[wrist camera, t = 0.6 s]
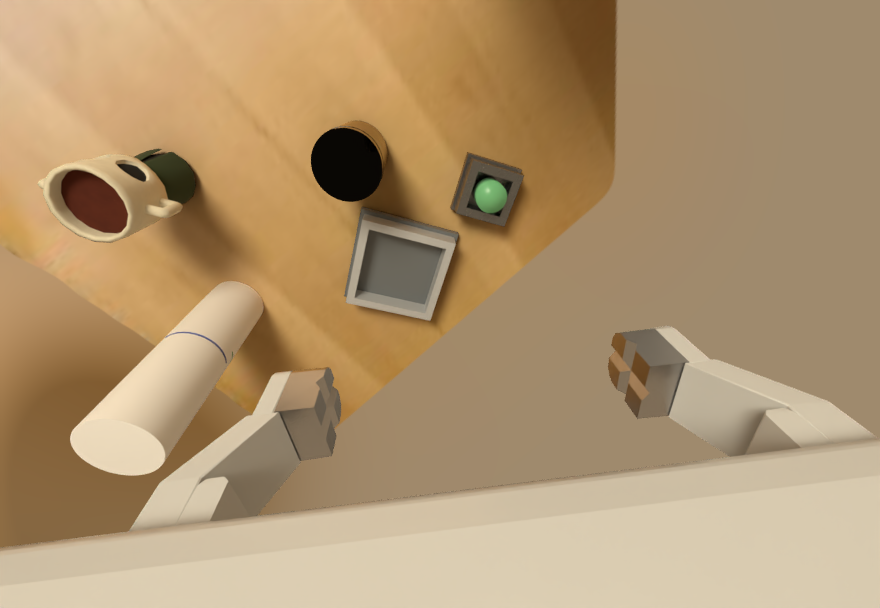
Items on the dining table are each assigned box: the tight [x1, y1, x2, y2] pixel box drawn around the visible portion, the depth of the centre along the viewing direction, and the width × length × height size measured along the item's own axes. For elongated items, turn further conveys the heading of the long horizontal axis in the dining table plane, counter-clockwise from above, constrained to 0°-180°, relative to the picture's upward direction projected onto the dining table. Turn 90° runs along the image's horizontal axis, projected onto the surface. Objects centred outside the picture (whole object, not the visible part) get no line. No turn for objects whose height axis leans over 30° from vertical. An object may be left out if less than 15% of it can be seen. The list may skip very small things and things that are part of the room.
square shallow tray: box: [344, 207, 459, 321], centre depth 50 cm, size 13×13×4 cm
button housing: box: [450, 152, 524, 226], centre depth 46 cm, size 7×7×4 cm
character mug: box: [38, 149, 196, 243], centre depth 38 cm, size 11×7×13 cm, turn 73°
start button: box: [473, 178, 507, 213], centre depth 44 cm, size 4×4×2 cm
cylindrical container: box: [70, 281, 264, 475], centre depth 42 cm, size 7×7×25 cm
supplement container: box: [311, 121, 388, 202], centre depth 40 cm, size 7×7×10 cm
